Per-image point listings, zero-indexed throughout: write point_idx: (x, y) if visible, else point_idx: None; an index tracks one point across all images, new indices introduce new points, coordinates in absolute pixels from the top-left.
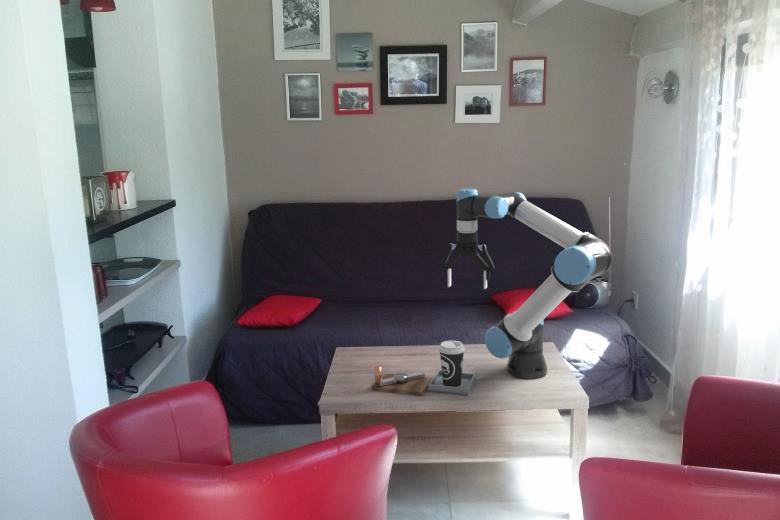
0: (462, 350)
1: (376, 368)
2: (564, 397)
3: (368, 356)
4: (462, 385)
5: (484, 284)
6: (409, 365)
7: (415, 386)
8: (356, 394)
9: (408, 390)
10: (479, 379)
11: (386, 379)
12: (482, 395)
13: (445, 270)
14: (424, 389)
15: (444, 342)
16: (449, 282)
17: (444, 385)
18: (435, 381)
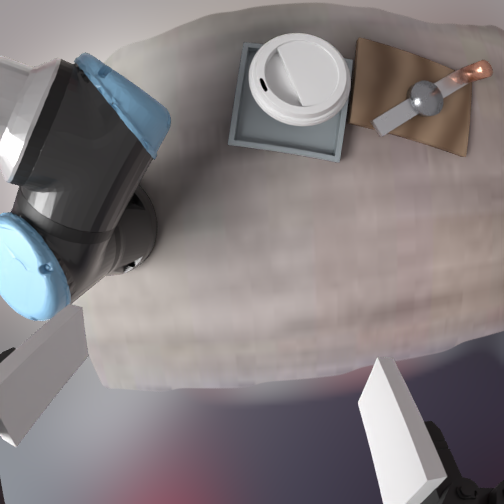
0: (256, 55)
1: (485, 61)
2: None
3: (489, 281)
4: None
5: (55, 324)
6: (412, 234)
7: (382, 68)
8: None
9: (393, 47)
10: (221, 152)
11: (453, 88)
12: (209, 57)
13: (456, 476)
14: (357, 53)
15: (334, 92)
16: (390, 383)
17: None
18: (338, 112)
